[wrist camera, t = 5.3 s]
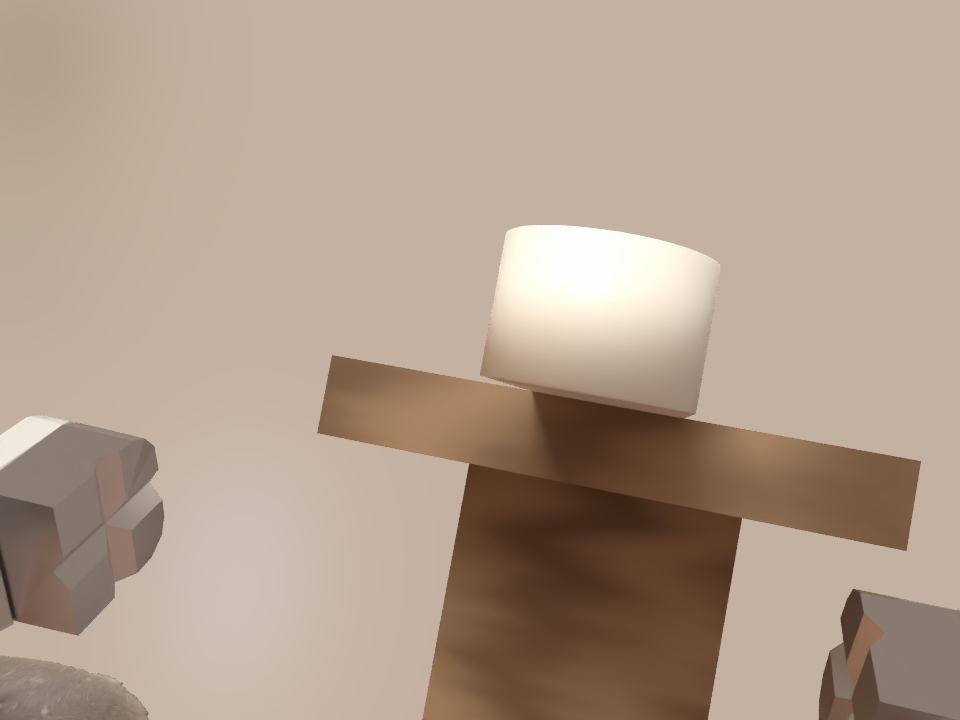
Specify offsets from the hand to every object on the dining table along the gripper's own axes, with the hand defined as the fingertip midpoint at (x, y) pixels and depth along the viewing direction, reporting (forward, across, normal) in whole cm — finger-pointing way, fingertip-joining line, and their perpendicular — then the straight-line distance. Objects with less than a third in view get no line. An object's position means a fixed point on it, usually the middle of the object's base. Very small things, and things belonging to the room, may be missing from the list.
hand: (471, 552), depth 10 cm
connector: (+15, +1, -6) cm, 16 cm away
